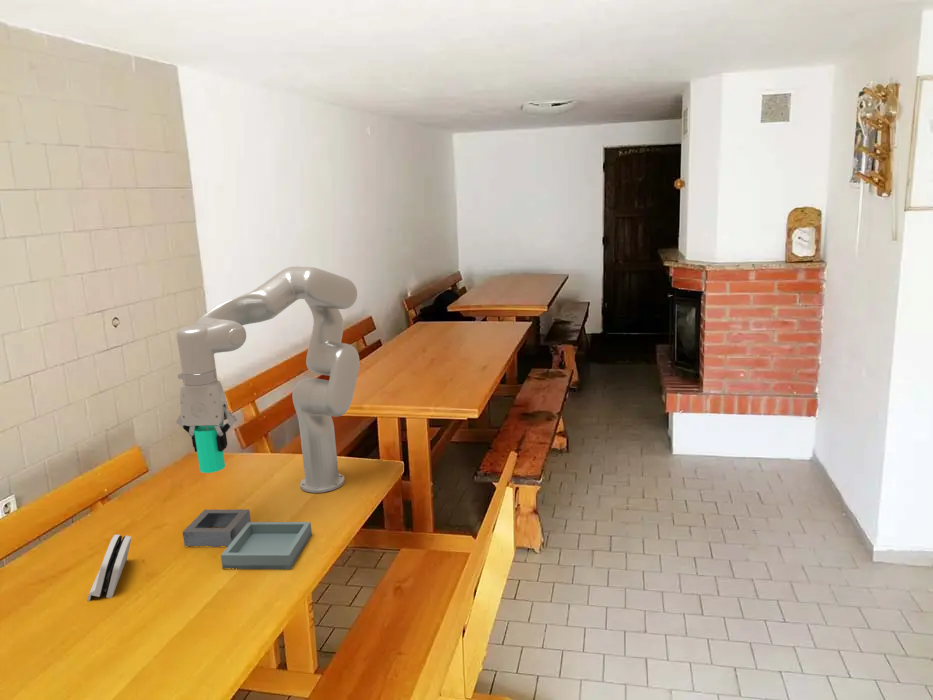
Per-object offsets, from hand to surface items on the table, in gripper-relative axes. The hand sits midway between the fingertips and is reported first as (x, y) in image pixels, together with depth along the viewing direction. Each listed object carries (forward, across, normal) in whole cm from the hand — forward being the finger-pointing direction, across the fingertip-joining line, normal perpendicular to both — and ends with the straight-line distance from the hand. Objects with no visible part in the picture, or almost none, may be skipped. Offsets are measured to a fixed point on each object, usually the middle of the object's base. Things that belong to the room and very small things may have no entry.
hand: (210, 448), depth 173 cm
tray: (+23, +15, -7) cm, 28 cm away
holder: (+23, -1, 0) cm, 23 cm away
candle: (+5, 0, 0) cm, 5 cm away
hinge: (+23, -17, -20) cm, 35 cm away
